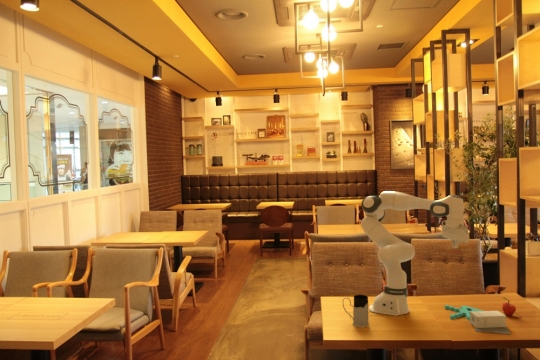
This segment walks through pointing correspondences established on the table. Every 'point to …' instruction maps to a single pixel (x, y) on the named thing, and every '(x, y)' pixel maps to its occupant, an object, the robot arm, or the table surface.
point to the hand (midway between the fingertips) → (455, 247)
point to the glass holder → (360, 311)
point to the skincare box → (487, 319)
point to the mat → (494, 330)
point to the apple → (508, 308)
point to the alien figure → (461, 311)
